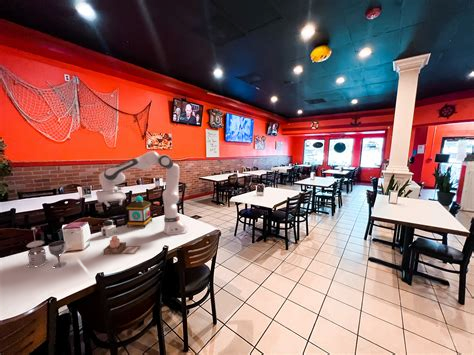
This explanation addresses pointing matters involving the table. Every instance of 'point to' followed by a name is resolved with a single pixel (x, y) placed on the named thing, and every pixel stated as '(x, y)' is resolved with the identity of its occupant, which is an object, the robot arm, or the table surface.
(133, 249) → the caddy
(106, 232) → the container
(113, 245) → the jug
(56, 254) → the wine glass
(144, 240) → the table surface
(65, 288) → the table surface
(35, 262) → the french press
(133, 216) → the decorative lantern
